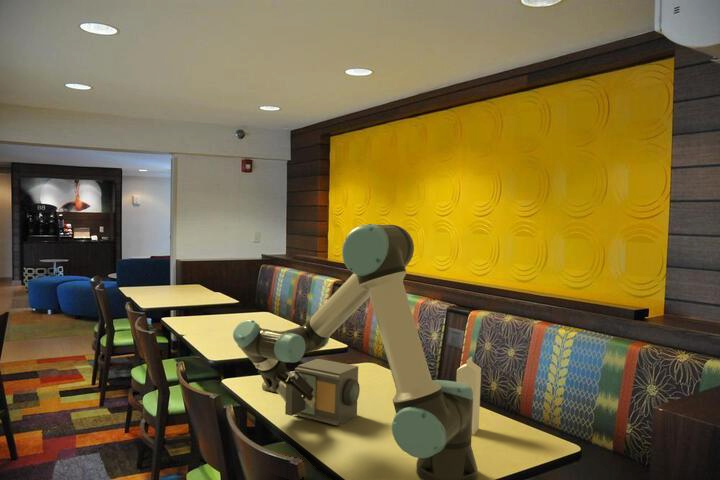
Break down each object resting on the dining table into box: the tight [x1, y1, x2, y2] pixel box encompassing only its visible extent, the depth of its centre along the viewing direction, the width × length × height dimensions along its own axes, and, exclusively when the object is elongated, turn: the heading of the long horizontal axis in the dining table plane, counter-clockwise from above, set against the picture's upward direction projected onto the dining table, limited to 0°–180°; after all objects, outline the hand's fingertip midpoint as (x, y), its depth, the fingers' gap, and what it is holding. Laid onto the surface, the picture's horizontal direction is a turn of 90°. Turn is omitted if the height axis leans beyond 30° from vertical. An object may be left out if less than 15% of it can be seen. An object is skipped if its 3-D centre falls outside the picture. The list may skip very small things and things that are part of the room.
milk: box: [456, 356, 482, 436], centre depth 168 cm, size 6×6×22 cm
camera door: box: [284, 370, 316, 416], centre depth 171 cm, size 9×8×12 cm
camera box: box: [293, 358, 361, 427], centre depth 176 cm, size 18×12×16 cm
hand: (300, 400), depth 173 cm, fingers closed on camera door, 9 cm apart
